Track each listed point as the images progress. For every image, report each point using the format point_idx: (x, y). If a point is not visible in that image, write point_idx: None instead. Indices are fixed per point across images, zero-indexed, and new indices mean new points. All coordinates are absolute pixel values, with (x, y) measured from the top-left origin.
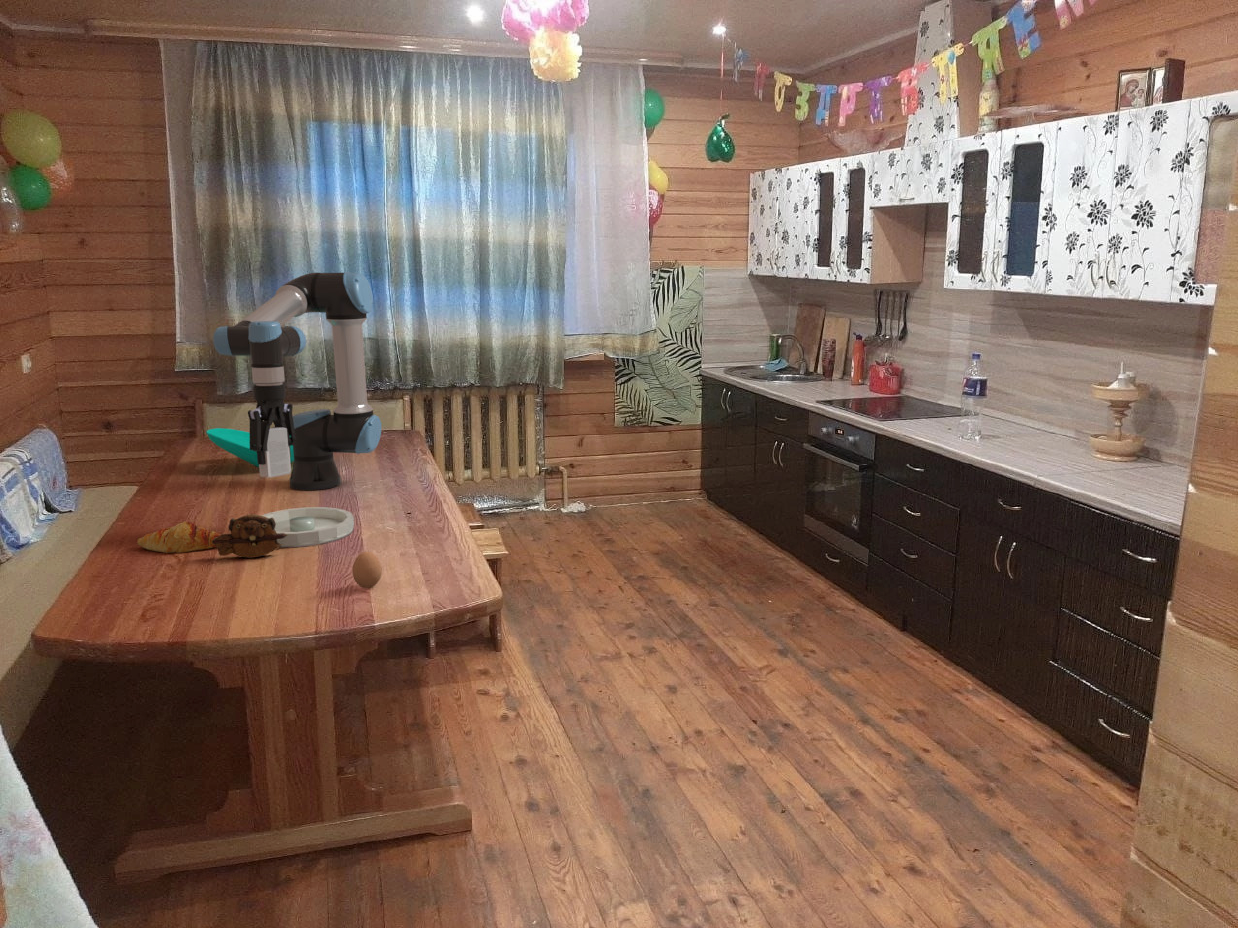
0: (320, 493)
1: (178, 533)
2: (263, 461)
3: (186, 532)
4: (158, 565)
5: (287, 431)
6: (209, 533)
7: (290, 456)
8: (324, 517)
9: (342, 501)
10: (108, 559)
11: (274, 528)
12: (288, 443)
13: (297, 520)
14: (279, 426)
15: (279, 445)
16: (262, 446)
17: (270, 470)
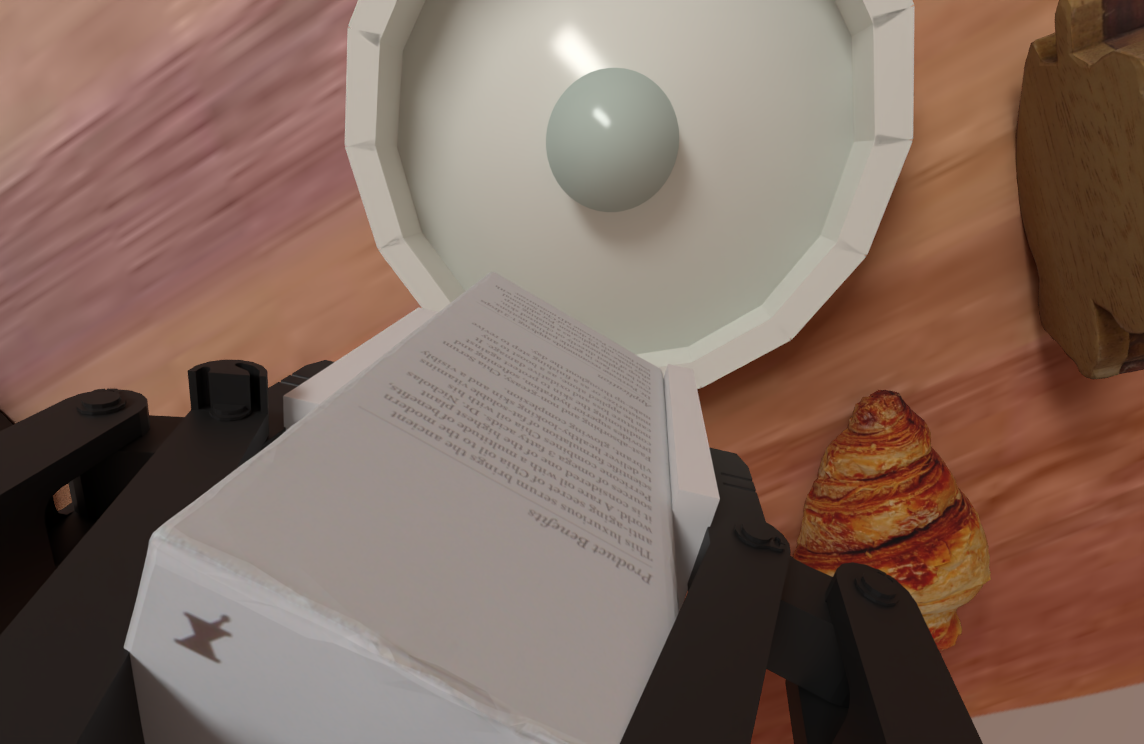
0: (38, 386)
1: (987, 565)
2: (725, 468)
3: (979, 540)
4: (1120, 508)
5: (96, 531)
6: (904, 467)
7: (320, 361)
8: (397, 136)
9: (87, 229)
10: (1010, 683)
11: (1098, 62)
12: (258, 419)
13: (628, 160)
14: (129, 734)
15: (500, 441)
16: (777, 587)
17: (656, 387)
